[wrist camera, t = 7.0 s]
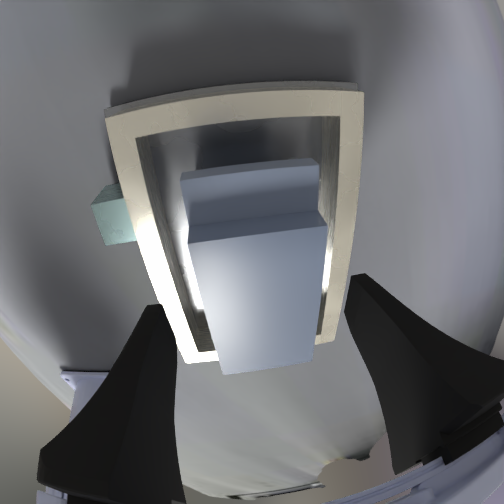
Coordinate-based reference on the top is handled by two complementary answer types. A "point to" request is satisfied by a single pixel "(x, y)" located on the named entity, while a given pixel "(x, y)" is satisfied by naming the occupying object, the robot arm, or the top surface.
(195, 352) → the frame
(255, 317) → the block
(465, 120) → the top surface
